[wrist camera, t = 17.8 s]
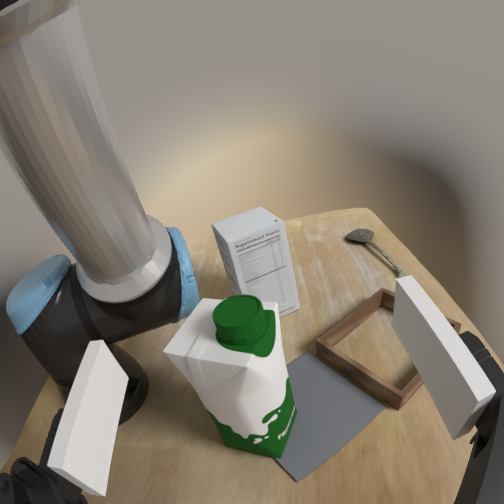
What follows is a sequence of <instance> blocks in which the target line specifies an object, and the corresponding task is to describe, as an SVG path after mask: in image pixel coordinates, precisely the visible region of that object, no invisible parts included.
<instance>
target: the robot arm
mask: <svg viewBox="0 0 504 504" xmlns="http://www.w3.org/2000/svg"><path fill="white" fill-rule="evenodd" d="M77 4H78V0H0V150H1V152H2V154H3V155H4V157H5V159H6V160H7V162H8V164H9V165H10V167H11V169H12V170H13V172H14V173H15V175H16V177H17V178H18V180H19V181H20V183H21V184H22V186H23V187H24V189H25V190H26V192H27V194H28V195H29V196H30V198H31V199H32V201H33V202H34V204H35V205H36V207H37V208H38V209H39V211H40V212H41V214H42V215H43V216H44V218H45V219H46V221H47V222H48V223H49V225H50V226H51V227H52V229H53V230H54V232H55V233H56V234H57V236H58V237H59V238H60V239H61V241H62V242H63V243H64V245H65V246H66V247H67V249H68V250H69V251H70V252H71V254H72V255H73V256H74V257H75V259H76V260H77V263H75V264H71V261H70V259H69V258H68V257H67V256H66V255H64V254H60V255H55V256H53V257H51V258H49V259H47V260H45V261H44V262H42V263H41V264H39V265H38V266H37V267H35V268H34V269H33V270H31V271H30V272H29V273H28V274H27V275H26V276H25V277H23V279H22V280H21V281H20V282H19V283H18V284H17V285H16V286H15V287H14V289H13V290H12V292H11V293H10V295H9V297H8V300H7V303H6V309H7V313H8V316H9V317H10V319H11V321H12V323H13V325H14V326H15V328H16V331H17V333H18V334H19V335H20V336H21V338H22V339H23V341H24V342H25V343H26V345H27V346H28V348H29V349H30V350H31V352H32V353H33V354H34V356H35V357H36V358H37V360H38V361H39V362H40V363H41V365H42V366H43V367H44V369H45V370H46V371H47V372H48V374H49V375H50V376H51V377H52V379H53V380H54V381H55V382H56V384H57V386H58V389H59V391H60V394H61V396H62V398H63V401H64V403H65V408H64V409H59V411H58V412H57V414H56V415H55V416H54V418H53V421H52V424H51V427H50V428H51V430H49V433H48V437H47V440H46V443H45V446H44V449H43V453H42V456H41V460H40V463H39V466H37V465H36V464H35V463H33V462H32V461H31V460H29V459H28V458H26V457H20V458H18V459H17V460H16V461H15V462H14V463H13V465H12V466H11V471H10V474H11V476H10V475H9V474H7V473H1V474H0V504H88V502H87V501H86V499H85V498H84V496H83V495H82V494H81V491H82V490H84V491H86V492H87V493H89V494H91V495H98V496H104V497H105V495H106V488H107V482H108V475H109V469H110V464H111V458H112V453H113V447H114V442H115V437H116V432H117V427H118V425H120V424H122V423H124V422H125V421H127V420H128V419H129V418H130V417H132V416H133V415H134V414H135V413H136V411H137V410H138V409H139V408H140V406H141V405H142V403H143V401H144V399H145V397H146V394H147V390H148V380H147V376H146V374H145V372H144V370H143V369H142V367H141V366H140V364H139V363H138V362H137V361H136V360H135V359H134V358H133V357H132V356H130V355H129V354H128V353H126V352H125V351H124V350H123V349H121V348H120V347H119V346H118V345H116V344H115V342H118V341H121V340H124V339H127V338H130V337H133V336H136V335H139V334H142V333H145V332H147V331H150V330H153V329H156V328H159V327H162V326H165V325H167V324H170V323H177V322H179V321H180V320H181V319H183V318H185V317H188V316H189V315H190V314H191V313H192V311H193V310H194V309H195V307H196V306H197V305H198V303H199V293H198V287H197V283H196V279H195V277H194V272H193V267H192V263H191V259H190V256H189V253H188V250H187V247H186V244H185V241H184V239H183V236H182V234H181V232H180V231H179V230H178V229H177V228H175V227H170V228H168V227H164V226H163V225H162V223H161V222H159V221H158V220H157V219H155V218H154V217H152V216H149V215H146V214H145V212H144V209H143V207H142V205H141V202H140V200H139V197H138V195H137V192H136V190H135V187H134V185H133V182H132V179H131V177H130V174H129V172H128V169H127V167H126V164H125V161H124V159H123V156H122V153H121V150H120V148H119V145H118V142H117V139H116V137H115V134H114V131H113V128H112V125H111V122H110V120H109V116H108V113H107V110H106V107H105V104H104V101H103V98H102V95H101V92H100V89H99V86H98V82H97V79H96V76H95V72H94V69H93V66H92V62H91V59H90V55H89V52H88V48H87V44H86V41H85V37H84V33H83V29H82V25H81V21H80V17H79V13H78V9H77ZM392 327H393V328H394V330H395V332H396V334H397V335H398V337H399V339H400V340H401V342H402V344H403V346H404V347H405V349H406V351H407V353H408V354H409V356H410V358H411V360H412V362H413V363H414V365H415V367H416V369H417V371H418V373H419V374H420V376H421V378H422V380H423V382H424V384H425V386H426V387H427V389H428V391H429V393H430V395H431V397H432V399H433V401H434V403H435V405H436V407H437V409H438V411H439V413H440V415H441V417H442V419H443V421H444V423H445V425H446V427H447V429H448V431H449V433H450V435H451V437H452V439H453V440H455V439H457V438H459V437H461V436H463V435H465V434H467V433H469V432H470V431H471V429H472V428H473V427H474V425H475V426H476V428H477V430H478V431H477V432H476V434H475V435H474V436H473V437H472V439H471V441H470V443H469V444H472V443H473V442H474V444H473V448H472V452H471V455H470V459H469V462H468V465H467V468H466V471H465V475H464V478H463V480H462V483H461V486H460V489H459V492H458V494H457V497H456V500H455V502H454V504H504V373H503V371H502V370H501V368H500V367H499V365H498V364H497V363H496V361H495V360H494V358H493V357H491V354H490V353H489V351H488V350H487V349H485V346H484V345H483V343H482V342H481V341H480V339H479V338H478V337H477V336H475V335H473V334H472V333H470V332H469V331H466V332H464V333H462V334H459V335H458V334H457V333H456V331H455V330H454V329H453V327H452V326H451V325H450V323H449V322H448V321H447V319H446V318H445V317H444V315H443V314H442V313H441V312H440V310H439V309H438V308H437V306H436V305H435V304H434V303H433V301H432V300H431V299H430V297H429V296H428V295H427V294H426V292H425V291H424V290H423V289H422V288H421V286H420V285H419V284H418V283H417V281H416V280H415V279H414V278H413V277H412V275H410V276H407V277H403V278H400V279H396V289H395V302H394V313H393V322H392ZM474 440H475V441H474Z"/></svg>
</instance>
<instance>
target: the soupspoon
mask: <svg viewBox="0 0 504 504" xmlns="http://www.w3.org/2000/svg"><path fill="white" fill-rule="evenodd" d="M346 238H347V239H350V240H356V241H361V242H367V243H368V244H370V245H371V246H373V247H374V248H375V249H376V250H377V251H379V252H380V253H381V254H382V255H383V256H384V257H385V258H386V259H387V260H388V261H389V262H390V263H391V264H392V265H393V268H395V270H396V271H397V274H398V278H400V277H403V276H405V275H406V272H405V271H402V270H401V269H400V268H399V267H398V265H397V264H395V263H394V262H393V261H392V260H391V258H390V257H389V256H387V255H386V254H385V253H384V252H383V251H382V250H381V249H380V248H379V247H378V246H377V245H375V244H374V243H373V242H371V240H372V239H373V238H374V232H373V231H371V230H368V229H357V230H354V231H352V232H350V233H349V234H348V235H347V236H346Z"/></svg>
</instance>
